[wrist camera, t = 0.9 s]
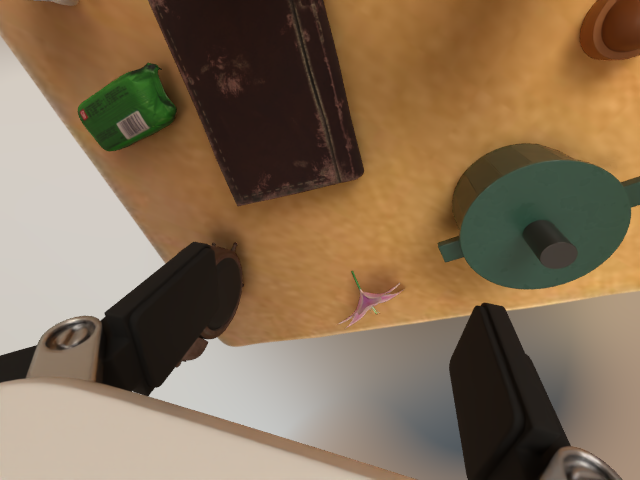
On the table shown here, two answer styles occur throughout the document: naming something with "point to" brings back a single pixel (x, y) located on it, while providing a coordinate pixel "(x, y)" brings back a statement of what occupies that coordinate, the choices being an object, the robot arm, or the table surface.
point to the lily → (368, 302)
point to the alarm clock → (221, 299)
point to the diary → (265, 92)
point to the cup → (64, 2)
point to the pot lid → (544, 223)
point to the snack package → (128, 109)
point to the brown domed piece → (612, 30)
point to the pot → (496, 166)
